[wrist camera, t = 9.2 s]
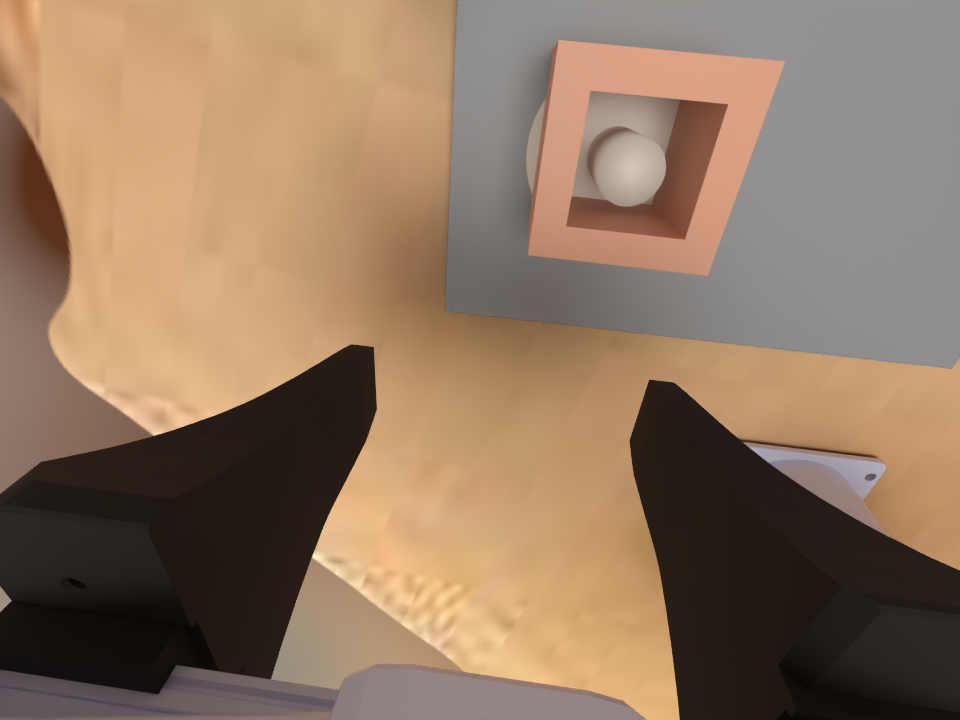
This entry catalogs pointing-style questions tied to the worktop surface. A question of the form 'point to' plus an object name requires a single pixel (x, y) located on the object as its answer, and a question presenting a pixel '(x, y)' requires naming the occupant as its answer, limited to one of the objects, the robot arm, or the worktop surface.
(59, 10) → the worktop surface
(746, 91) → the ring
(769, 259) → the board
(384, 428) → the worktop surface
